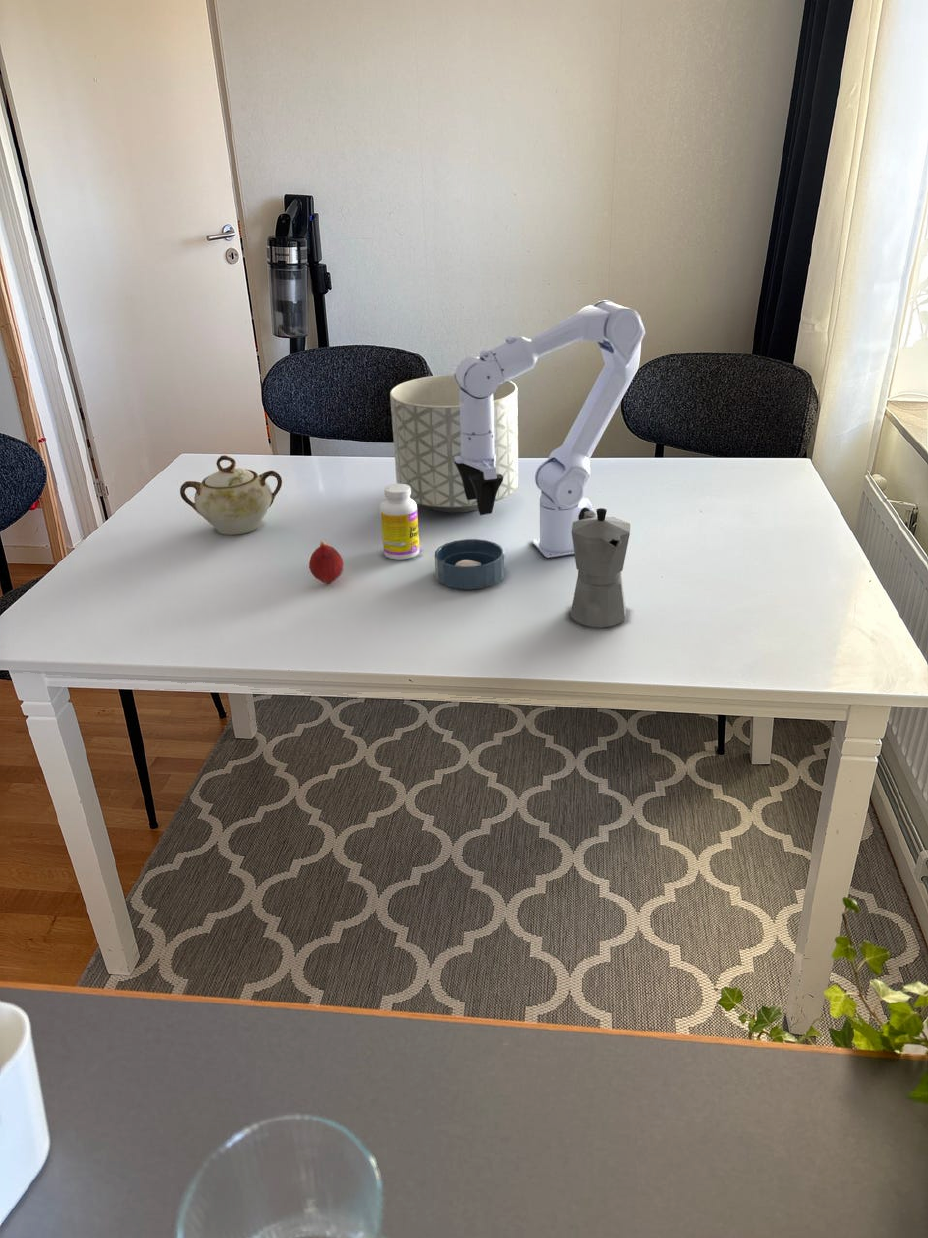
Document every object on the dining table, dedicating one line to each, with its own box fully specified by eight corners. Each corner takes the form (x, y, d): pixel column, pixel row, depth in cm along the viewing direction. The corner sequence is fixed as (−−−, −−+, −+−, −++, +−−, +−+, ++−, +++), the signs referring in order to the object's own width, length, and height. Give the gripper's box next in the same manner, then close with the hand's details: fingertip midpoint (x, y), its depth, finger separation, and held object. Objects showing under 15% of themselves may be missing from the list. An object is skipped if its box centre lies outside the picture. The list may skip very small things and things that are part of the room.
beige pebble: (450, 573, 165) (450, 560, 164) (473, 565, 168) (473, 552, 166) (465, 581, 162) (464, 568, 161) (488, 573, 164) (488, 560, 163)
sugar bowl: (185, 547, 181) (171, 472, 174) (189, 519, 194) (176, 448, 187) (289, 535, 185) (279, 461, 178) (285, 508, 198) (276, 439, 191)
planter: (543, 503, 195) (543, 387, 184) (450, 536, 181) (444, 414, 170) (465, 475, 212) (461, 367, 201) (374, 503, 198) (364, 390, 187)
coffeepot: (641, 629, 145) (648, 520, 137) (583, 638, 144) (586, 528, 135) (606, 587, 159) (610, 486, 150) (552, 595, 157) (553, 492, 149)
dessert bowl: (492, 558, 171) (491, 535, 169) (514, 585, 161) (513, 561, 159) (428, 568, 169) (427, 545, 166) (446, 596, 158) (445, 571, 156)
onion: (350, 578, 166) (346, 536, 162) (336, 592, 161) (331, 549, 157) (321, 575, 168) (316, 533, 164) (305, 588, 163) (300, 546, 159)
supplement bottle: (414, 562, 171) (410, 495, 165) (379, 560, 172) (374, 493, 166) (423, 547, 177) (419, 482, 171) (389, 545, 178) (384, 480, 172)
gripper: (443, 421, 165) (446, 495, 171) (466, 445, 153) (469, 523, 159) (481, 417, 167) (483, 490, 173) (508, 440, 154) (508, 517, 161)
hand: (479, 506), depth 166 cm, fingers open, 7 cm apart
